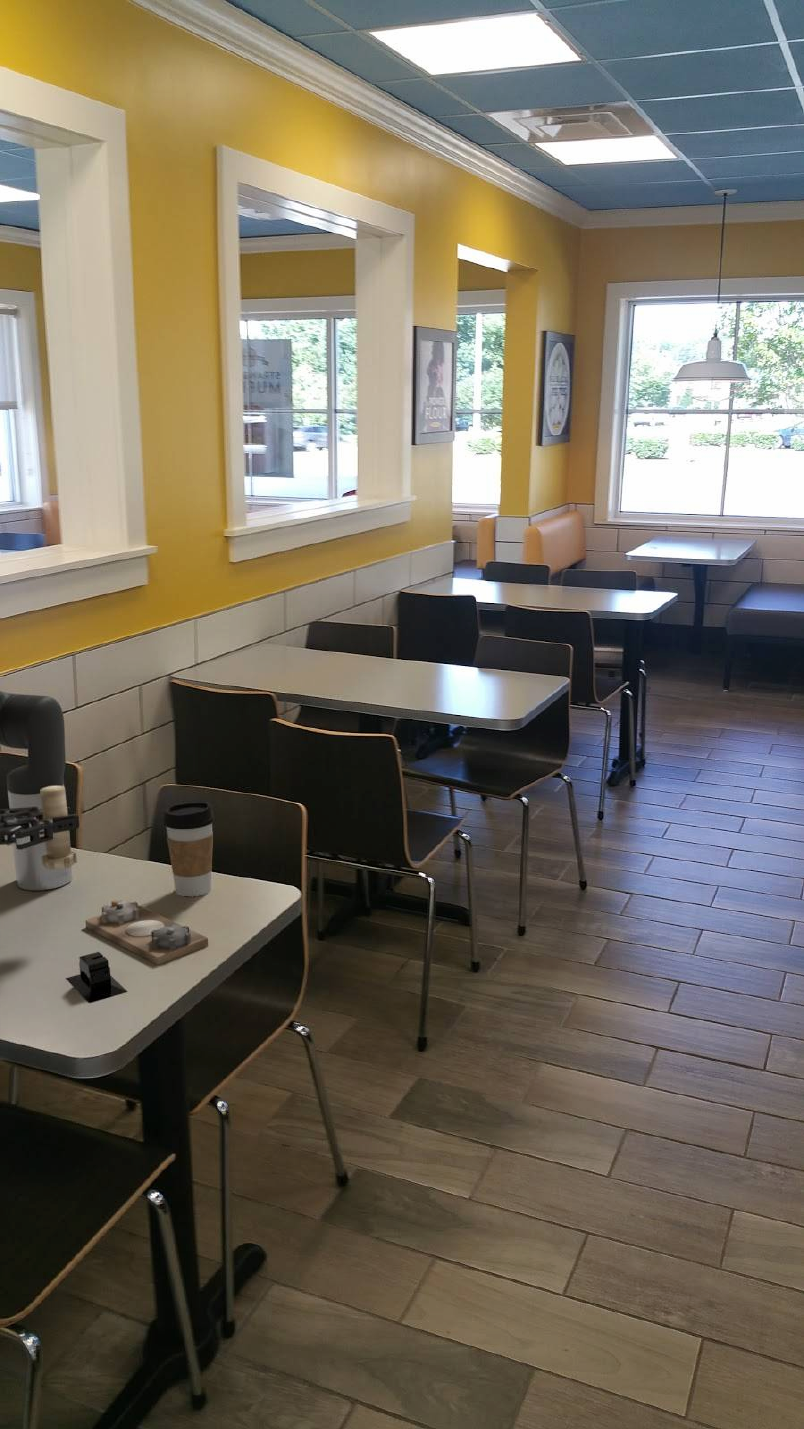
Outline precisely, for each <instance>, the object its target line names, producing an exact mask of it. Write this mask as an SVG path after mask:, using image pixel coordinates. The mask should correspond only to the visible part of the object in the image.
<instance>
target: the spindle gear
mask: <svg viewBox="0 0 804 1429" xmlns="http://www.w3.org/2000/svg"><path fill="white" fill-rule="evenodd" d="M40 793H41V803H42V813H43V819H47V818H54V817H60V816H66V815H68V814H67V807H68V806H67V805H68V804H67V793H66V787H65V786H64V787H63V786H49V787H45V788H42V789H41V790H40ZM70 837H71V836H70V830H68V831H63V832H58V833H55V835H53V839H52V840H49V841H46V842H45V844H46V854H44V855H42V864H43V867H46V868H48V869H49V870H54V869H63V868H66V869H67V868H70V866H71V867H72V866H74V865H75V864H77V862H78V860H77V852H76V851H73V850H72V847H71V839H70Z"/></svg>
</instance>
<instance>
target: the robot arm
mask: <svg viewBox="0 0 804 1429" xmlns="http://www.w3.org/2000/svg"><path fill="white" fill-rule="evenodd" d="M65 733H66V728H65V718H64V713H63V710H62V707H61V705H60V703H59V701H57V700H56V698H54V697H52V696H48V695H35V694H20V693H10V692H4V691H1V690H0V745H2V746H3V747H7V748H12V749H20V750H27V764H25V765H22V766H19V767H16V768H14V769H12V770H11V771H9V772H8V773H7V776H6V787H7V795H8V805H9V808H0V846H5V845H6V846H10V847H11V846H13V847H12V850H13V860H14V867H15V879H16V882H17V886H18V887H19V888H20V889H23V890H27V891H45V890H52V889H56V888H60V887H63V886H65V885H67V884H68V883H70V882H71V881H72V880H73V870H72V866H70V868H67V869H66V868H63V869H54V870H49V869H48V868H46V867H43V864H42V855H44V854H46V844H45V842H46V841H49V840H52V839H53V835H55V833H58V832H63V831H68V830H69V831H73V830H77V829H79V828H80V820H79V819H80V818H79V816H78V815H77V813H73V811H72V809H71V808H70V806H67V814H68V815H66V816H60V817H54V818H47V819H43V813H42V803H41V793H40V790H41V789H42V788H45V787H49V786H63V787H65V780H64V774H65V770H66V762H67V761H66V760H67V758H66V755H67V754H66V734H65ZM72 813H73V814H72Z"/></svg>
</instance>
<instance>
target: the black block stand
mask: <svg viewBox="0 0 804 1429" xmlns="http://www.w3.org/2000/svg"><path fill="white" fill-rule="evenodd" d="M78 965H79V974H76V975H72V976H69V977H66V978H65V980H66V981H67V982H68V983H69V984H70V986H72V987H73V989H75V991H76V992H78V993H79V995H81V997H82V998H83V999H84V1000H85V1001H86V1002H87V1003H88V1004H93V1003H96V1002H99V1001H102V1000H106V999H110V998H112V997H116V996H118V995H122V994H126V993H128V991H127V989H125V987H123V985H121V984H120V983H119V982H118V981H117V980H116V979H115V978H114V977H113V976H112V975H111V968H110V964H109V959H107V958H106V956H104V955H103V954H102V953H101V952H100V951H97V952H93V953H90V954H89V953H88V954H85V955H81V956H79V963H78Z"/></svg>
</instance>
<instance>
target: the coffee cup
mask: <svg viewBox="0 0 804 1429" xmlns="http://www.w3.org/2000/svg"><path fill="white" fill-rule="evenodd" d="M212 806H213V805H212V804H211V803H210V802H208V801H192V802H191V801H190V802H181V803H175V804H172V805H170V806H168V807H166V808H165V809H164V816H163V819H162V820H163V825H164V827H166V840H167V847H168V852H169V858H170V864H171V865H170V866H171V870H172V874H173V881H174V888H175V893H176V894H177V895H178V896H180V895H181V896H180V897H184V896H189V897H188V898H194V897H193V896H196V897H200V896H199V895H201V896H204V895H207V894H208V893H210V892H209V891H211V890H212V868H213V862H212V861H213V847H214V845H213V843H214V842H213V841H214V831H213V823H214V821H215V813H214V812H213V807H212ZM190 896H192V897H190Z"/></svg>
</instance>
